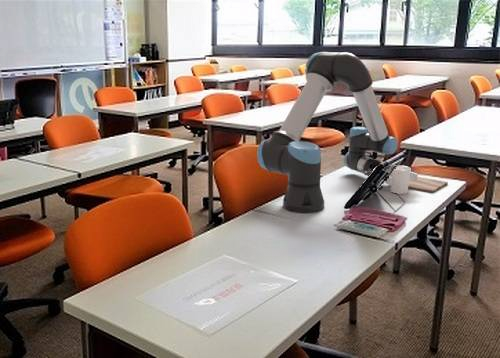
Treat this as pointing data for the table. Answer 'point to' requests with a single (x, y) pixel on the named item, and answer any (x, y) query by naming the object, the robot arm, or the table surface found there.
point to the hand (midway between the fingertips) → (404, 179)
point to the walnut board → (426, 184)
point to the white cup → (400, 179)
